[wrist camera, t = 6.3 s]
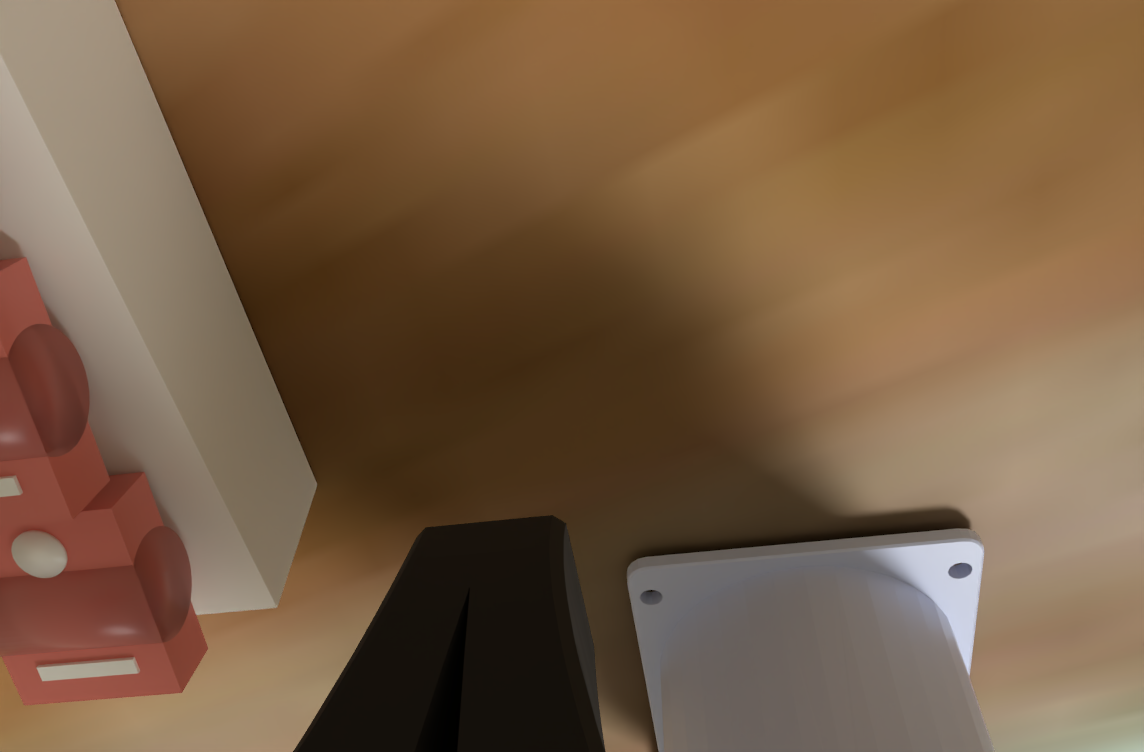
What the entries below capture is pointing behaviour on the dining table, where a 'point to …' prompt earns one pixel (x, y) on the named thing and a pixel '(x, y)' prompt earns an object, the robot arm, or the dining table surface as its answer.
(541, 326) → the dining table surface
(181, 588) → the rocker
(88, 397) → the red stepped block
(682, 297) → the dining table surface
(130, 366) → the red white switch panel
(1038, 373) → the dining table surface
